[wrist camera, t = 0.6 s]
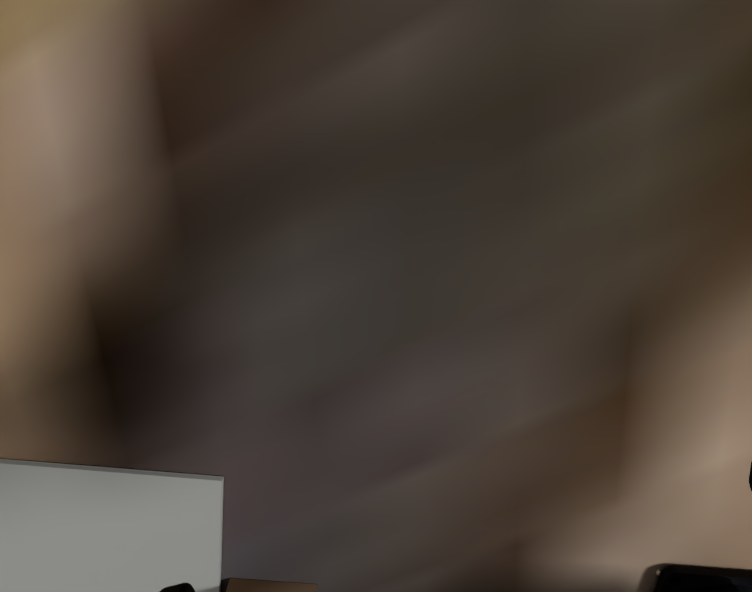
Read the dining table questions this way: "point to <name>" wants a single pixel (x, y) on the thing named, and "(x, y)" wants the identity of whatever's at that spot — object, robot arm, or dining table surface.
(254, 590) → the walnut block
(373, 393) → the dining table surface
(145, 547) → the mat
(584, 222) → the dining table surface
